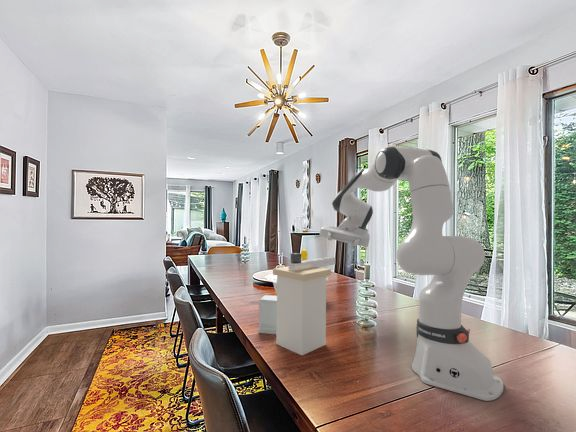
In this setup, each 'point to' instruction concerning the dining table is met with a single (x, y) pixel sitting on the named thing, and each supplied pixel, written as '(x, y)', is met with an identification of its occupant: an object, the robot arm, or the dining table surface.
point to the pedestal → (301, 308)
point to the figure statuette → (304, 255)
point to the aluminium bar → (308, 262)
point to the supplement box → (268, 314)
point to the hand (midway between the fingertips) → (341, 241)
